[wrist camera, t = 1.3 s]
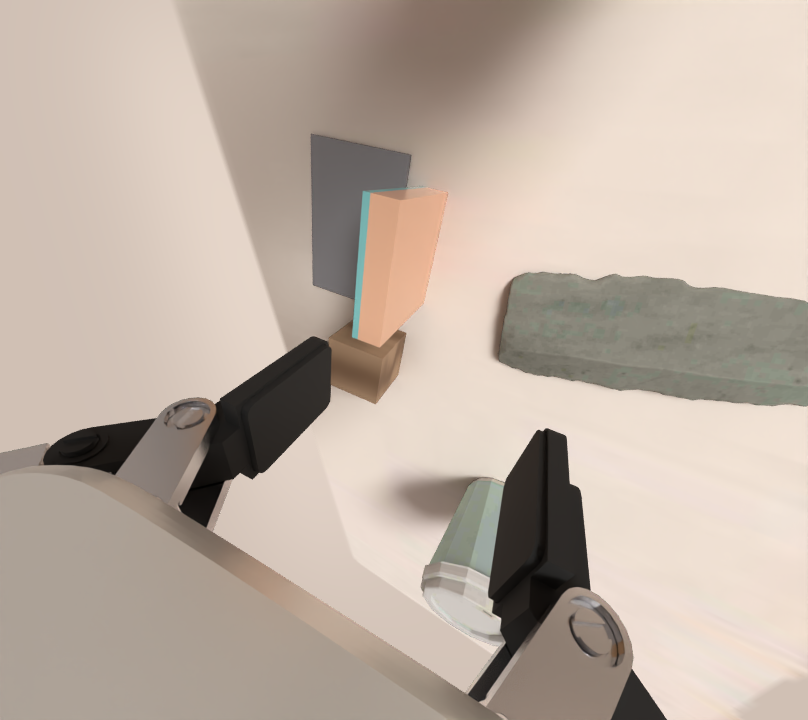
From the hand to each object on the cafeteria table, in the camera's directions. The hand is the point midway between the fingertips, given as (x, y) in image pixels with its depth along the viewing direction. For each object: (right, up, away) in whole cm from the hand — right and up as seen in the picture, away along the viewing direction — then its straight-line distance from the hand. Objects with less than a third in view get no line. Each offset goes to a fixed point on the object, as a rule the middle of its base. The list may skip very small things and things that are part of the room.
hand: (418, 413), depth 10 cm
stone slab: (+19, +4, +14) cm, 24 cm away
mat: (-5, +15, +19) cm, 24 cm away
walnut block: (-3, +4, +25) cm, 25 cm away
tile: (+1, +12, +17) cm, 21 cm away
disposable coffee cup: (+11, -16, +30) cm, 36 cm away
